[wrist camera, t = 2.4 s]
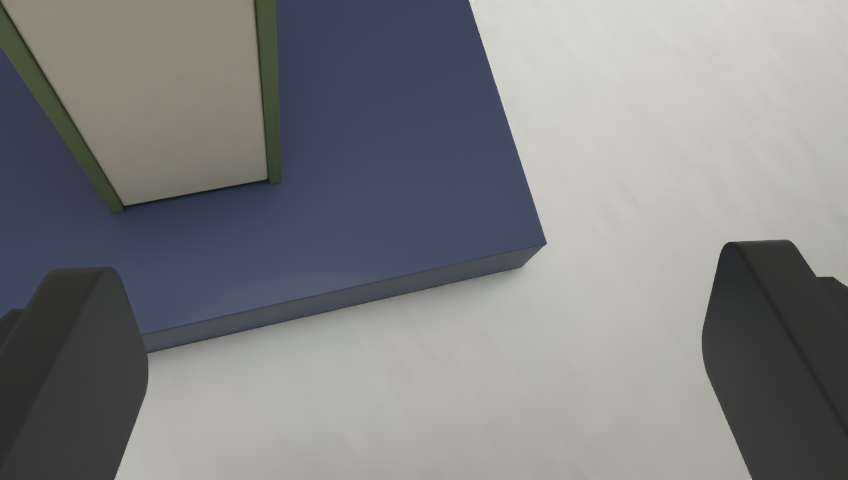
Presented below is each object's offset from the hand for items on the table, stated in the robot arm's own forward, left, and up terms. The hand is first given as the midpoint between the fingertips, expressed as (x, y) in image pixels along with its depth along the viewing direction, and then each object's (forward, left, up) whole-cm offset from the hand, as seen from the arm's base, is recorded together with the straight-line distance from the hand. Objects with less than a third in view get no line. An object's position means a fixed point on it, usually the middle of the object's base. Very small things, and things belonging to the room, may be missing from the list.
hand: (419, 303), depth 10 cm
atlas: (+2, -11, -17) cm, 21 cm away
